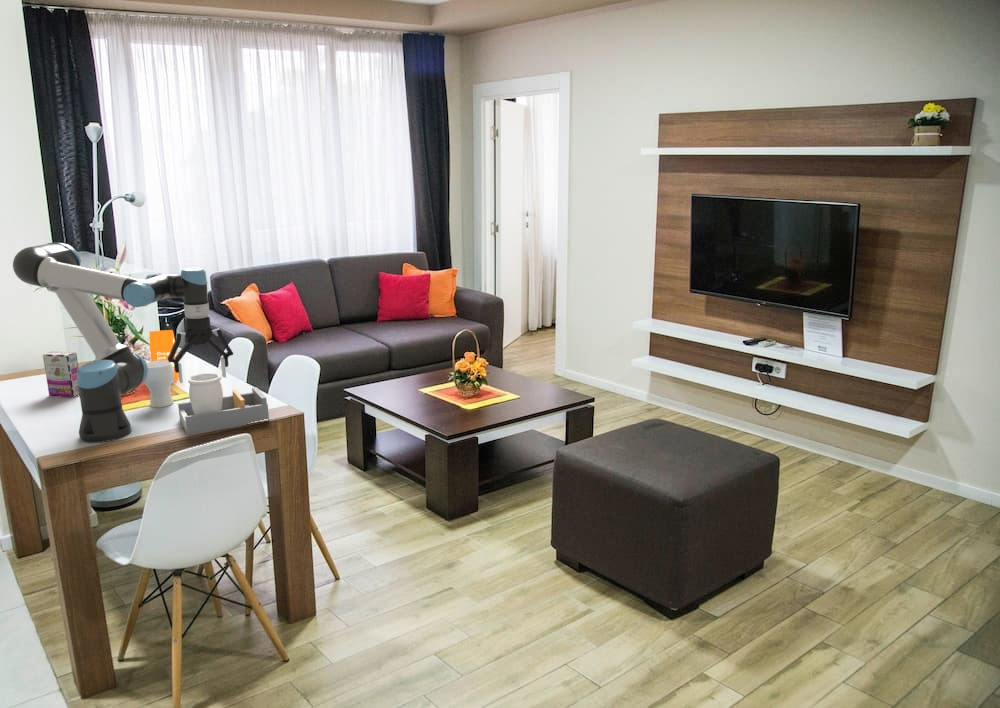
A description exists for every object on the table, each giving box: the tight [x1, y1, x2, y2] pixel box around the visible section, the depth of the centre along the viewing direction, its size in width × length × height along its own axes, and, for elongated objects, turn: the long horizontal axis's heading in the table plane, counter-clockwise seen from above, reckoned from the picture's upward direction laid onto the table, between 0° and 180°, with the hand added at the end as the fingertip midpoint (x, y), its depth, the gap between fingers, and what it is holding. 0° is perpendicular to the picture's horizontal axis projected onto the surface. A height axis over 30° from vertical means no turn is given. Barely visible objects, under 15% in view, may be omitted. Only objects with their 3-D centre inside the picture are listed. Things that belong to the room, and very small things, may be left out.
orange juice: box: [148, 329, 179, 382], centre depth 323 cm, size 8×9×20 cm
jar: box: [187, 372, 224, 415], centre depth 270 cm, size 11×10×15 cm
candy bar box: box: [42, 351, 80, 398], centre depth 304 cm, size 11×5×16 cm, turn 76°
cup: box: [143, 361, 174, 408], centre depth 292 cm, size 11×11×15 cm
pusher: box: [231, 389, 249, 408], centre depth 277 cm, size 4×14×7 cm, turn 29°
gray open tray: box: [177, 386, 270, 436], centre depth 274 cm, size 26×17×8 cm, turn 119°
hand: (202, 379), depth 268 cm, fingers open, 13 cm apart
